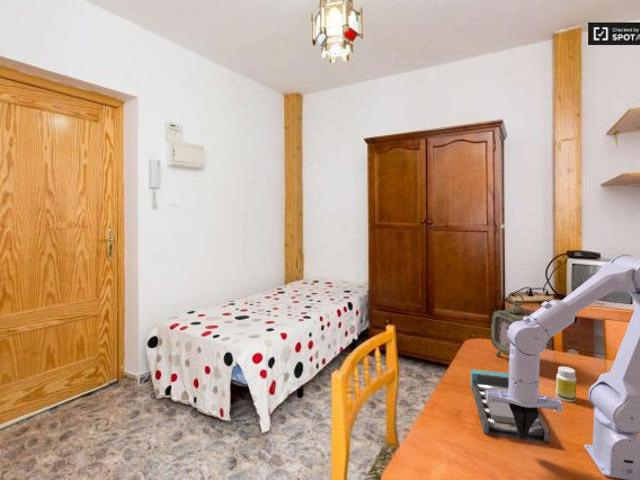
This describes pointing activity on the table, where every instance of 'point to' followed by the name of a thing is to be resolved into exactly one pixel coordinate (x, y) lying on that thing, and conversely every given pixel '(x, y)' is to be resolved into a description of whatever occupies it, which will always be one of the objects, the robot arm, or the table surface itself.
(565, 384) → the supplement bottle
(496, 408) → the slab
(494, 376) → the end stop
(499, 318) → the tabletop clock
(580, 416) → the table surface
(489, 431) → the roller bed
